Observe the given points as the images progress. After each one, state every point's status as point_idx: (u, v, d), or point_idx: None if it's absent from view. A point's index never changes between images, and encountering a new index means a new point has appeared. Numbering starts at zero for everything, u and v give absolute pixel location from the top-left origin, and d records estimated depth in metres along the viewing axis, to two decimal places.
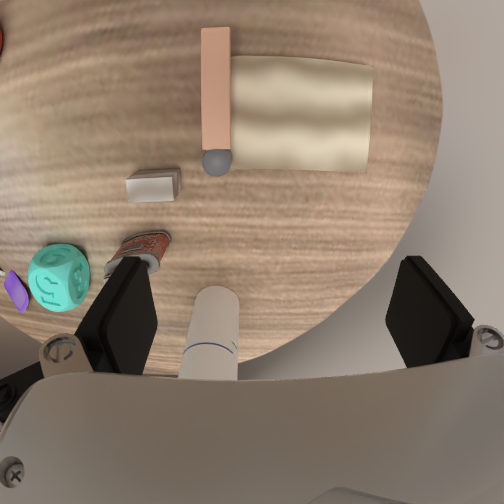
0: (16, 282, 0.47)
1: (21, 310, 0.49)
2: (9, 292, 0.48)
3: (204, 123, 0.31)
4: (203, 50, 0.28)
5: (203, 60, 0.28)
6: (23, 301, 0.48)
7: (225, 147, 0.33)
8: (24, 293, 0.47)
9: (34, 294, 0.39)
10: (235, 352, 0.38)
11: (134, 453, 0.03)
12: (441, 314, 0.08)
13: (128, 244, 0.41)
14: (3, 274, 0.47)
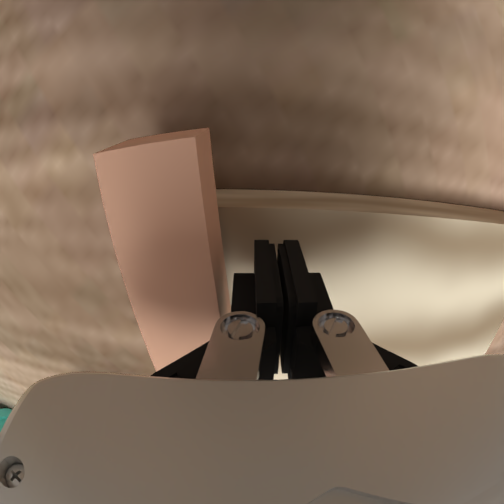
0: None
1: None
2: None
3: None
4: (119, 239, 0.09)
5: (128, 274, 0.09)
6: None
7: None
8: None
9: None
10: None
11: (134, 453, 0.03)
12: (287, 295, 0.09)
13: None
14: None
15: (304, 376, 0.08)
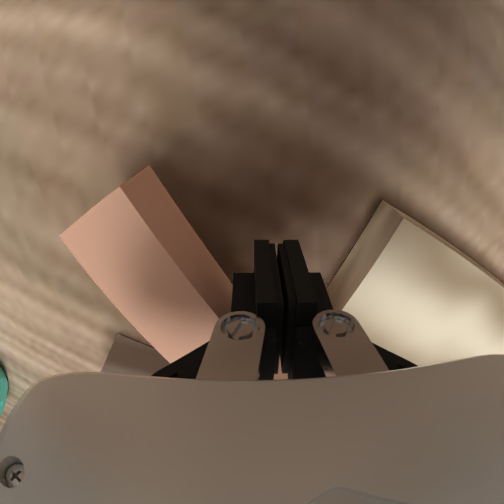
0: None
1: None
2: None
3: None
4: (112, 293, 0.10)
5: (133, 318, 0.10)
6: None
7: None
8: None
9: None
10: None
11: (134, 453, 0.03)
12: (287, 295, 0.09)
13: None
14: None
15: (304, 376, 0.08)
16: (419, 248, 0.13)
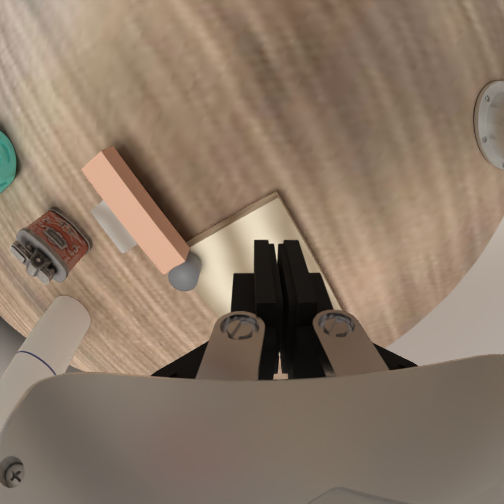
0: None
1: None
2: None
3: (147, 252, 0.31)
4: (98, 188, 0.28)
5: (104, 198, 0.28)
6: None
7: (180, 262, 0.32)
8: None
9: None
10: None
11: (134, 453, 0.03)
12: (287, 295, 0.09)
13: (55, 223, 0.32)
14: None
15: (304, 376, 0.08)
16: (279, 214, 0.33)
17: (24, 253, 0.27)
